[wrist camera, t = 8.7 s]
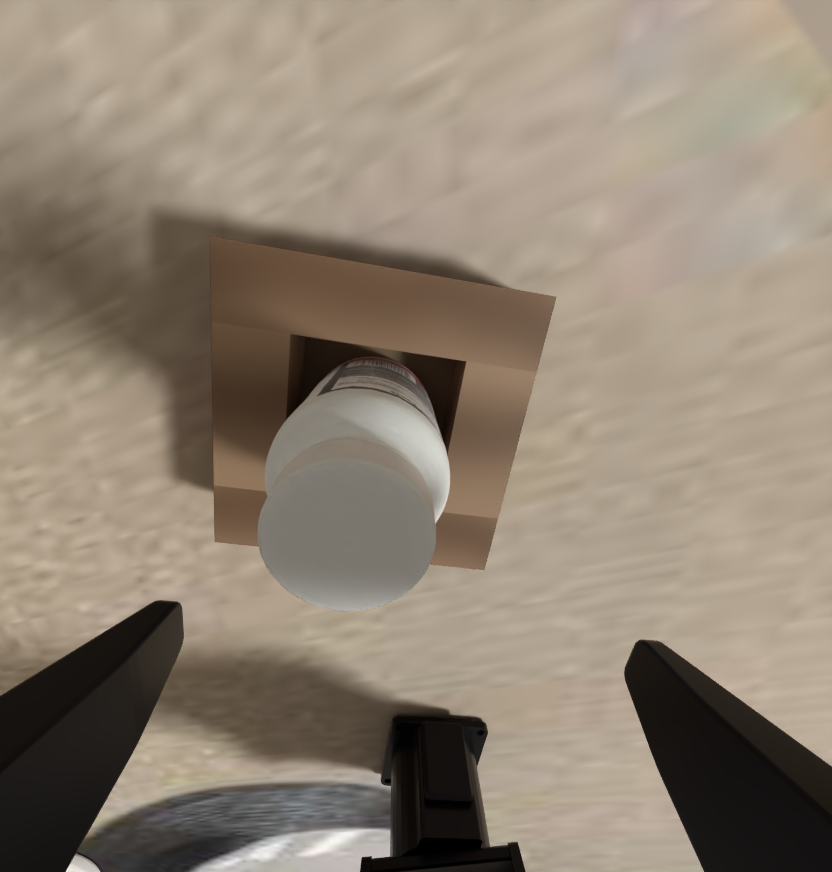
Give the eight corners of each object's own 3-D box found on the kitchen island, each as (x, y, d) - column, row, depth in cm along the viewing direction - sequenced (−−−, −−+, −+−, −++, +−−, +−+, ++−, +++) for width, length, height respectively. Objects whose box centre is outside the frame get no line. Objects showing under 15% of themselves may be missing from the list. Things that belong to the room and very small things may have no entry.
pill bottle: (368, 488, 19) (340, 669, 10) (288, 407, 17) (165, 533, 8) (456, 420, 18) (515, 551, 9) (378, 327, 16) (352, 370, 7)
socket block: (470, 527, 21) (484, 570, 18) (244, 501, 20) (214, 542, 17) (526, 296, 17) (556, 296, 14) (248, 247, 16) (209, 236, 13)
